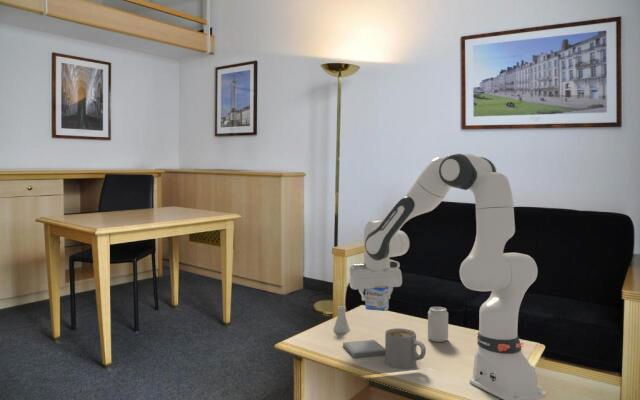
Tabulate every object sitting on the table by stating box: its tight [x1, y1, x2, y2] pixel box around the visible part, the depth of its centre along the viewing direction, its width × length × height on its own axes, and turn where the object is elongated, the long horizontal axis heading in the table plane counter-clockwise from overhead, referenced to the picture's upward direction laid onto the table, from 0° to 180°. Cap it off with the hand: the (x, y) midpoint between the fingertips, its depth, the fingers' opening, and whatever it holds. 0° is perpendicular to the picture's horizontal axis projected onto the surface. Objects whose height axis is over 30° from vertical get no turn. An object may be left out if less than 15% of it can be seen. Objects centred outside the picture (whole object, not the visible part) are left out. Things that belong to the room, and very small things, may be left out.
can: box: [427, 306, 449, 343], centre depth 190 cm, size 8×8×12 cm
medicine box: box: [364, 287, 390, 312], centre depth 190 cm, size 8×4×9 cm, turn 63°
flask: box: [332, 305, 351, 334], centre depth 199 cm, size 7×7×10 cm
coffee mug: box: [384, 327, 427, 369], centre depth 164 cm, size 13×10×10 cm
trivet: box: [342, 339, 385, 359], centre depth 178 cm, size 12×12×2 cm
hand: (376, 299), depth 191 cm, fingers closed on medicine box, 8 cm apart
